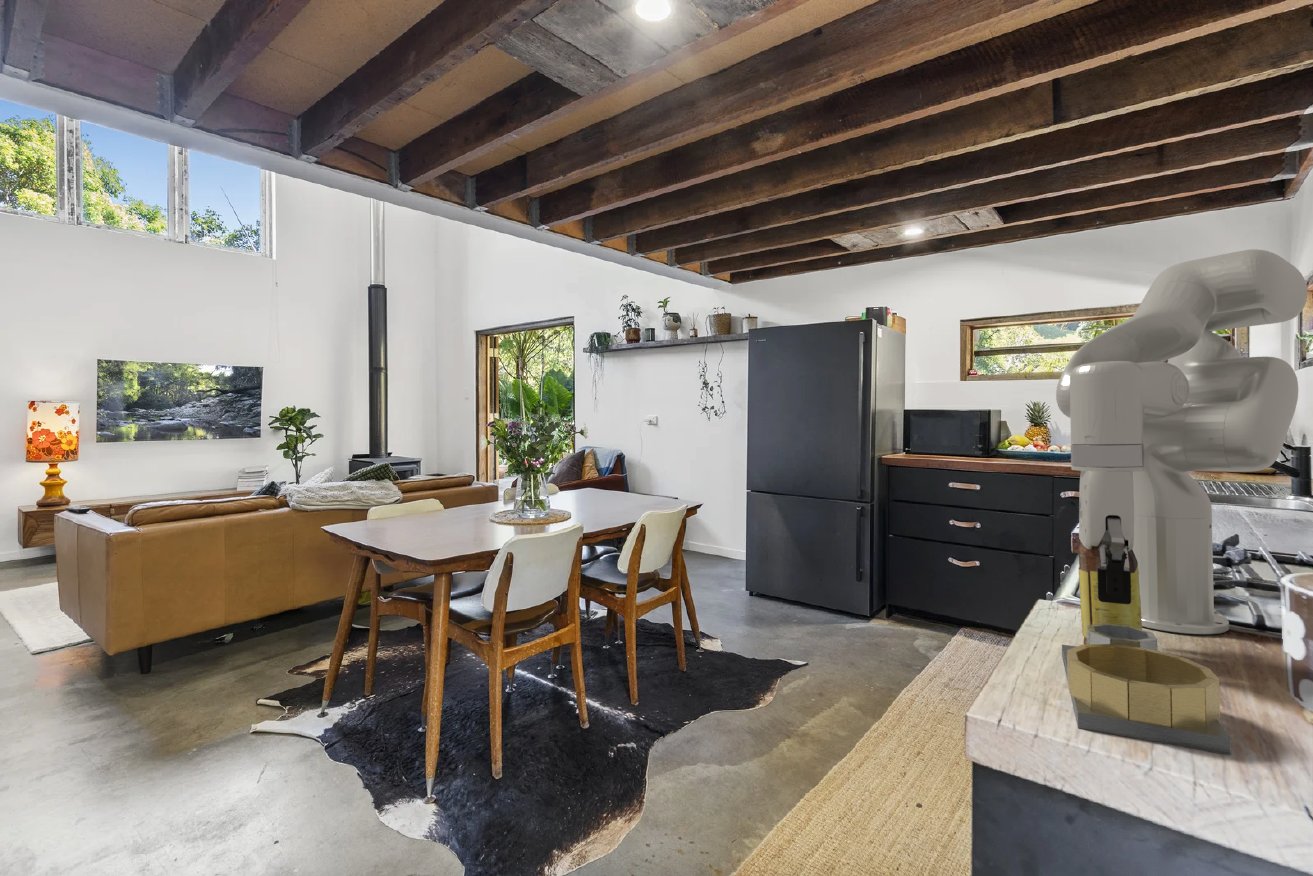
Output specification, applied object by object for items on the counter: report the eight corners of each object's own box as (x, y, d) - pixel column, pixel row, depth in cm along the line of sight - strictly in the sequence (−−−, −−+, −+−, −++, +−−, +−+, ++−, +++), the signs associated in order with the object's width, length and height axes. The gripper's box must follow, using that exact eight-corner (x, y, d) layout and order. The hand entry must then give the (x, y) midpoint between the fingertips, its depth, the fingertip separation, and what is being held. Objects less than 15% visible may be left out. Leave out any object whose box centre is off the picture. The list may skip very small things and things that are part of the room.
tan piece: (1059, 656, 77) (1058, 616, 77) (1178, 672, 71) (1177, 629, 71) (1074, 727, 59) (1073, 675, 59) (1235, 756, 53) (1234, 698, 53)
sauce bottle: (1155, 657, 76) (1152, 497, 76) (1114, 662, 75) (1111, 499, 75) (1106, 640, 82) (1103, 492, 82) (1068, 644, 81) (1064, 494, 81)
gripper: (1066, 456, 88) (1068, 576, 88) (1077, 461, 73) (1080, 607, 73) (1131, 456, 84) (1133, 582, 84) (1158, 462, 69) (1160, 615, 69)
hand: (1108, 593), depth 78 cm, fingers open, 9 cm apart
